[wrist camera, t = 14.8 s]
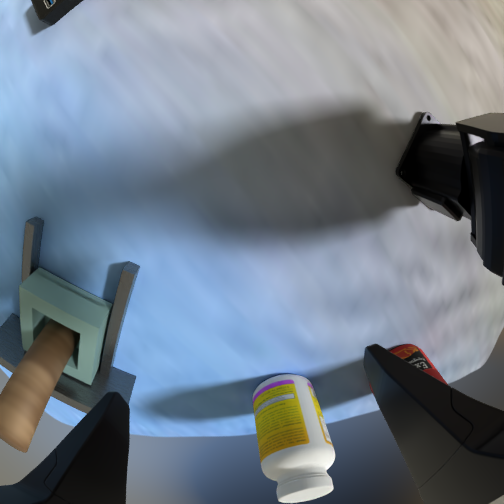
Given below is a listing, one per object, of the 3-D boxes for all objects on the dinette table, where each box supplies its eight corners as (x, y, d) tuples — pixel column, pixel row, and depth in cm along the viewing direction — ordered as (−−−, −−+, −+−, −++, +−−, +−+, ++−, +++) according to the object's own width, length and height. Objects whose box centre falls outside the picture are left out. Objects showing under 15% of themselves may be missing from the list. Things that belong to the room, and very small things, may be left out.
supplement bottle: (240, 400, 28) (250, 505, 16) (272, 364, 26) (297, 483, 14) (290, 412, 29) (311, 504, 18) (324, 379, 27) (360, 479, 16)
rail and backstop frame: (15, 205, 17) (-28, 227, 12) (171, 279, 21) (155, 326, 16) (13, 322, 22) (-13, 355, 16) (133, 384, 26) (122, 427, 20)
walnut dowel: (50, 307, 20) (-20, 412, 8) (82, 323, 21) (21, 440, 9) (50, 334, 21) (-7, 433, 9) (79, 348, 22) (31, 457, 10)
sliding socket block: (39, 267, 19) (19, 285, 16) (112, 304, 21) (99, 328, 18) (37, 328, 22) (23, 348, 19) (101, 361, 24) (90, 385, 21)
